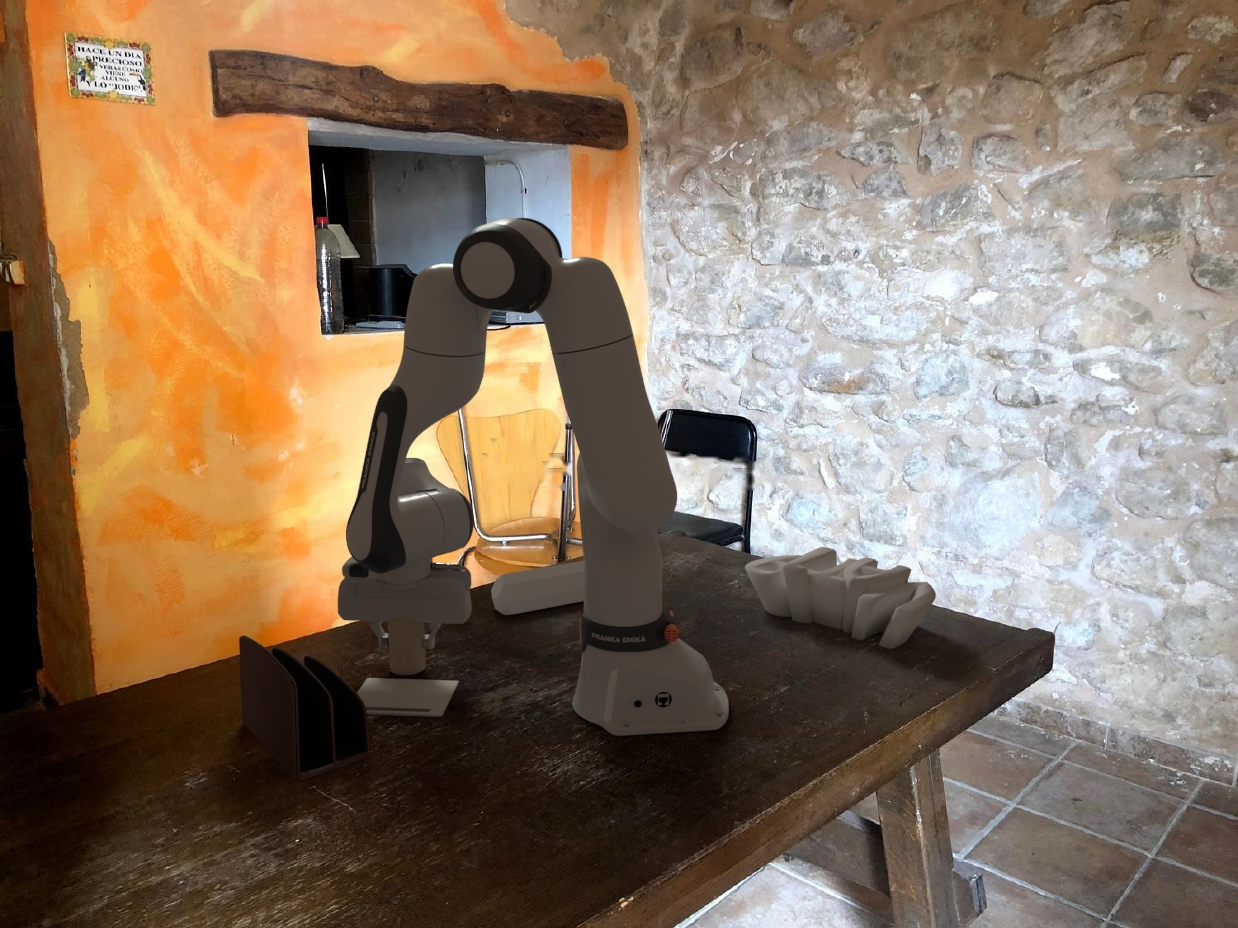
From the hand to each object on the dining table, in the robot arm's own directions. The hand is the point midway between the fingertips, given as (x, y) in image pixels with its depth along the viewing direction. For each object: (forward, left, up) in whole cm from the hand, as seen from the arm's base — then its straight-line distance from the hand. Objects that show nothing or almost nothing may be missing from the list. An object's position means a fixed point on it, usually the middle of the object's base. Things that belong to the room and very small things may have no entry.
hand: (406, 646), depth 153 cm
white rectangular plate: (-2, +10, -4) cm, 11 cm away
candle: (0, 0, -4) cm, 4 cm away
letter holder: (+8, +23, -4) cm, 25 cm away
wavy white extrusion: (-71, -25, -4) cm, 75 cm away
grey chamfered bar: (-19, -31, -4) cm, 37 cm away
